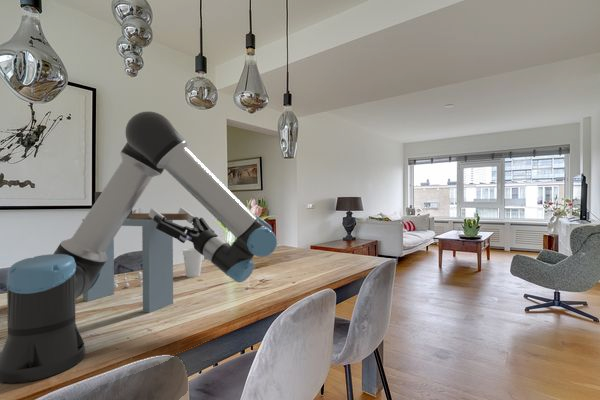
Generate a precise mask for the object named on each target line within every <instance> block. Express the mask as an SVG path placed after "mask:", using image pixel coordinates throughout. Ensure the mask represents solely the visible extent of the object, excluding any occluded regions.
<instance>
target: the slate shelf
mask: <svg viewBox="0 0 600 400" xmlns="http://www.w3.org/2000/svg"><path fill="white" fill-rule="evenodd" d="M84 219H85V218H83V219H82V221H83V220H84ZM167 221H170V222H173V221H174V220H167ZM173 223H174V222H173ZM157 224H158V223H157V222H155V221H154V220H144V219H126V220H125V221H124V223H123V224H122V226H123V227H141V231H142V232H141V236H142V237H141V238H142V241H141V242H142V245H141V247H142V250H141V251H142V252H141V253H142V256H141V257H142V280H143V286H142V312H145V313H153V312H154V311H157V310H161V309H162V308H165V307H168V306H170V305H172V304H174V248H173V247H174V243H173V242H174V241H173V240H174V239H173V238H174V237H172V236H170V235H168V234H166V233H164V232H162V231H160V230H158V229H156V227H157ZM122 226H121V227H122ZM114 245H115V238H114V239H113V240H112V242H111V243H110V245H109V246H108V248H107V250H106V251H105V253H106V256H107V261H106V262H105V264H104V266H103V267H102V269H101V271H100V276H99V278H98V280H97V282H96V283H95V285H94V286H93V287H92V288H90V290H88V291H87V292H85V293H84V294H82V301H84V302H91V301H93V300H94V301H95V300H98V299H102V298H105V297H108V296H111V295H114V294H115V288H114V285H115V283H114V282H115V246H114Z"/></svg>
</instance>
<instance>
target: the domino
mask: <svg viewBox="0 0 600 400" xmlns="http://www.w3.org/2000/svg"><path fill="white" fill-rule="evenodd" d="M101 193H102V191H94V203H95V202H96V200H97V199H98V197H99V196H100V194H101Z"/></svg>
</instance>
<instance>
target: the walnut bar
mask: <svg viewBox="0 0 600 400" xmlns="http://www.w3.org/2000/svg"><path fill="white" fill-rule="evenodd" d="M159 213H160V212H159ZM160 214H161V215H163V216H164V217H166V220H173V221H186V220H188V214H178V213H165V212H164V213H163V212H161V213H160ZM148 215H149V212H148V213H146V212H145V213H144V212H143V213H141V212H135V213H133V212H132V214H130V219H144V220H153V219H152V218H151V217H150V216H148Z"/></svg>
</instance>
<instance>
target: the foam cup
mask: <svg viewBox="0 0 600 400" xmlns="http://www.w3.org/2000/svg"><path fill="white" fill-rule="evenodd" d="M182 256H183V261H184V262H183V263H184V268H185V269H184V270H185V275H186V277H187V278H196V277H200V275H201V270H202V261H203V255H202V254H200V253H199V252H198V251H197V250H195V249H194V247H187V248H183V249H182Z"/></svg>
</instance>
